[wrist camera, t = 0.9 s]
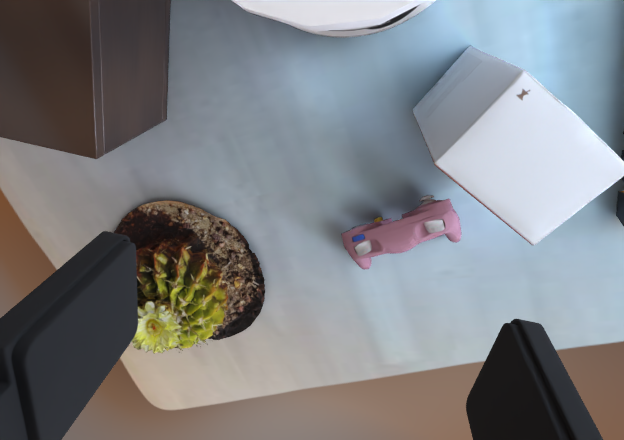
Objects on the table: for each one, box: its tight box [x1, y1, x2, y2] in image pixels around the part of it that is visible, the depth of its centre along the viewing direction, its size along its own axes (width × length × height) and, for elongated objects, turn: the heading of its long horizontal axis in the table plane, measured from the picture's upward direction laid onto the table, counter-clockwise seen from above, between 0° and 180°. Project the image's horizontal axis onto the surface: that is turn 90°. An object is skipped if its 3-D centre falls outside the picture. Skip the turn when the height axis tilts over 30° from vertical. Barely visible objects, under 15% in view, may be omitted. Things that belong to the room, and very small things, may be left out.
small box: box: [413, 46, 624, 245], centre depth 28 cm, size 8×6×13 cm
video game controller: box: [341, 195, 461, 269], centre depth 37 cm, size 10×5×7 cm, turn 114°
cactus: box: [114, 200, 265, 354], centre depth 40 cm, size 17×16×10 cm
